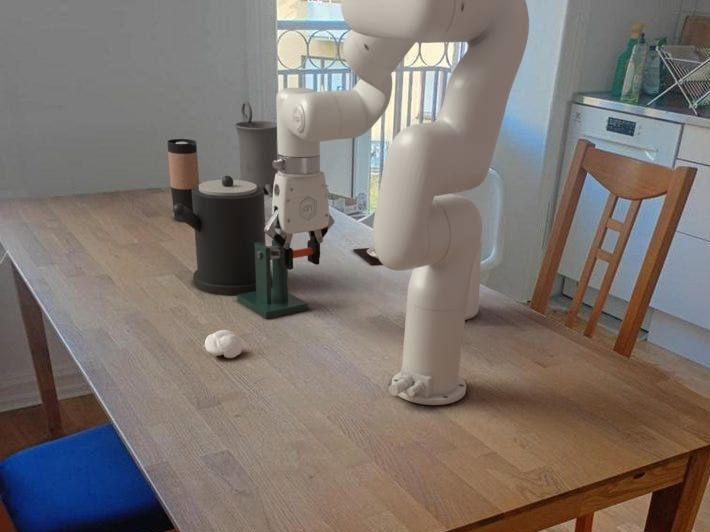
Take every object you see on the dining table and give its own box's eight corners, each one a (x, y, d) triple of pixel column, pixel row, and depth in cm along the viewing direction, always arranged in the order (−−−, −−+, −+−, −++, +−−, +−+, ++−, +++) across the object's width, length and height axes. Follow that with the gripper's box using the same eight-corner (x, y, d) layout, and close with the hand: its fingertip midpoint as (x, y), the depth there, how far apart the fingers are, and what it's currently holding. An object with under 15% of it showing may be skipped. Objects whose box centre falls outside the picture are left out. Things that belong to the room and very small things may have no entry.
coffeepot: (417, 332, 154) (425, 236, 144) (433, 291, 175) (440, 204, 165) (472, 338, 153) (484, 241, 143) (481, 296, 173) (492, 209, 163)
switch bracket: (308, 309, 162) (308, 248, 156) (266, 319, 157) (264, 255, 150) (277, 292, 170) (276, 233, 163) (237, 300, 165) (234, 239, 158)
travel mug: (170, 216, 220) (163, 139, 209) (197, 214, 222) (192, 138, 212) (177, 223, 214) (170, 144, 203) (204, 221, 217) (199, 143, 206)
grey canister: (293, 194, 246) (292, 107, 233) (250, 199, 239) (247, 109, 226) (265, 182, 260) (263, 99, 246) (224, 186, 253) (220, 100, 239)
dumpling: (232, 347, 145) (236, 328, 143) (243, 362, 142) (248, 343, 140) (197, 348, 141) (201, 328, 139) (208, 363, 138) (212, 344, 136)
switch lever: (314, 257, 151) (312, 244, 150) (291, 261, 148) (289, 248, 147) (279, 257, 161) (277, 244, 160) (257, 260, 158) (255, 248, 157)
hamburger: (416, 261, 193) (418, 238, 190) (371, 265, 189) (372, 242, 186) (396, 247, 202) (398, 225, 200) (353, 250, 199) (354, 228, 196)
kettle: (285, 286, 174) (283, 179, 162) (198, 303, 163) (190, 190, 151) (240, 262, 187) (236, 162, 175) (157, 276, 176) (147, 170, 164)
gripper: (268, 173, 134) (272, 277, 144) (349, 164, 143) (348, 263, 152) (246, 165, 139) (251, 267, 149) (326, 157, 148) (326, 254, 157)
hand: (300, 264), depth 150 cm, fingers closed on switch lever, 5 cm apart
